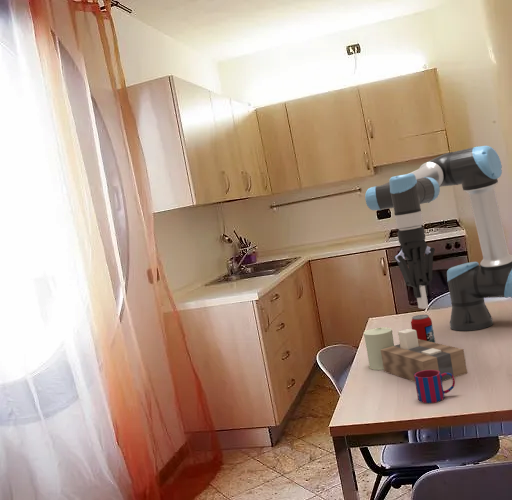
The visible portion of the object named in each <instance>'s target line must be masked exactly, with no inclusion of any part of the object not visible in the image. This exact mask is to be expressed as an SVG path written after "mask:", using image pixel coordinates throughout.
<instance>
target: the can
mask: <svg viewBox="0 0 512 500" xmlns="http://www.w3.org/2000/svg"><path fill="white" fill-rule="evenodd" d="M363 336H364V337H363V338H364V341H365V347H366V348H365V349H366V353H367V359H368V360H367V361H368V367H369V369H370V370H374V371H384V367H383V361H382V355H381V349H385V348H388V347H391V346H395V342H394V336H393V329H392V328H391V327H386V326H385V327H375V328H370V329H367V330H365V331H364V332H363Z"/></svg>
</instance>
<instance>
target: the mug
mask: <svg viewBox="0 0 512 500" xmlns="http://www.w3.org/2000/svg"><path fill="white" fill-rule="evenodd" d="M445 375H450V376H451V377H452V378H451V380H452V385H451V386H450V387H449V388H447V389H446V390H445V389H444V387H443V381H442V377H443V376H445ZM414 378H415V382H414V384H415V390H416V395H417V401H419V403H422V404H423V403H424V404H434V403H439V402H441V401H442V399H443V400H444V399H445V394H447V393H449V392H451V391H452V390H453V389H454V387H455V386H456V385H455V384H456V379H455V377H454V376H453V375H452V374H451V373H443V374H440V371H437V370H423V371H419V372H417V373H415V374H414ZM438 401H439V402H438Z"/></svg>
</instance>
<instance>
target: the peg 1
mask: <svg viewBox="0 0 512 500" xmlns="http://www.w3.org/2000/svg"><path fill="white" fill-rule="evenodd" d="M397 336H398V340H399V341H398V342H399V344H400V348H403V349H407V350H409V349H412V348H415V347H419V345H418V338H417V332H416V330H413V329H412V328H406V329H402V330H398V331H397Z"/></svg>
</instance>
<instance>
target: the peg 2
mask: <svg viewBox="0 0 512 500" xmlns="http://www.w3.org/2000/svg"><path fill="white" fill-rule="evenodd" d="M440 352H441V350H438V349H434V348H432V349H428V350H425V351H422V354H426V355H429V356H430V355H434V354H437V353H440Z"/></svg>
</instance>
